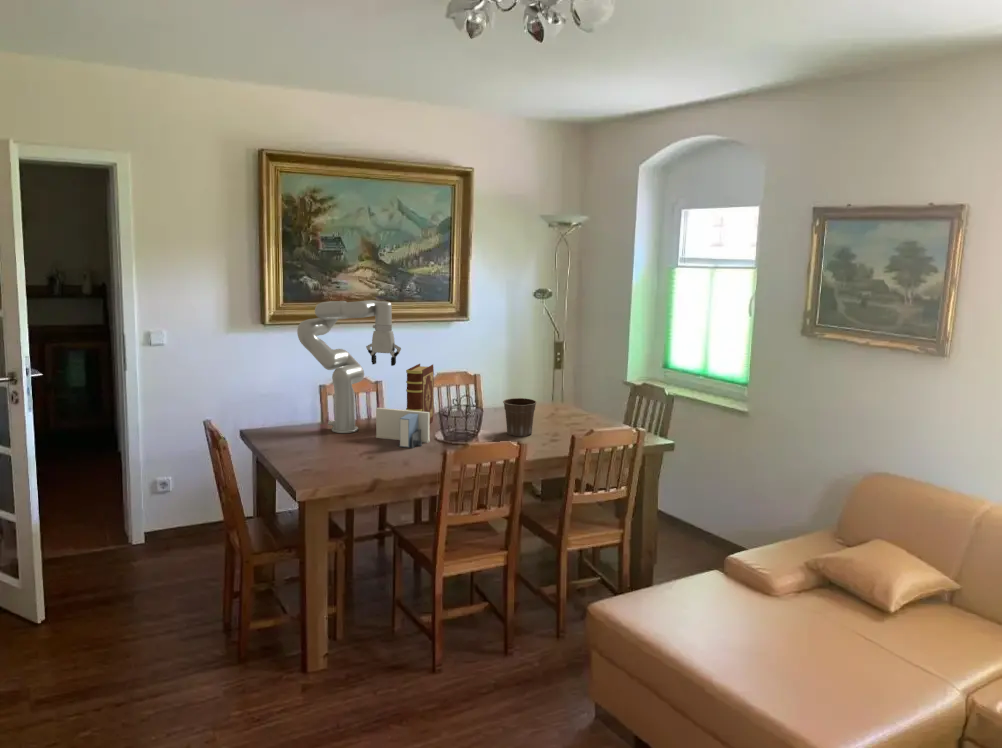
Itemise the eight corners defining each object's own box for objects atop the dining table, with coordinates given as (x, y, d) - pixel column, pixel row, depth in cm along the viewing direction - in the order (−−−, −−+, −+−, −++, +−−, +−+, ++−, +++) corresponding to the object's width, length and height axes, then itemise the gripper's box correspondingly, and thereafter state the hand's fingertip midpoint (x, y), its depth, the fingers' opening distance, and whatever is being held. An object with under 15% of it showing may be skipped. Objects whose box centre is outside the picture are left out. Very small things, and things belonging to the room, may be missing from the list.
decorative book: (420, 431, 376) (420, 371, 371) (404, 430, 378) (404, 370, 373) (433, 421, 398) (434, 364, 393) (418, 420, 399) (419, 363, 394)
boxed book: (399, 446, 347) (399, 418, 345) (409, 440, 357) (409, 413, 355) (408, 447, 346) (408, 419, 344) (418, 441, 356) (418, 414, 354)
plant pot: (509, 438, 366) (510, 405, 364) (497, 430, 381) (498, 399, 378) (540, 436, 372) (542, 403, 369) (527, 428, 387) (528, 397, 384)
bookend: (397, 446, 348) (397, 432, 347) (406, 441, 357) (406, 427, 356) (417, 448, 345) (417, 434, 344) (425, 443, 355) (425, 429, 354)
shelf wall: (376, 437, 363) (375, 408, 360) (378, 436, 366) (378, 407, 363) (427, 442, 356) (427, 413, 353) (430, 441, 359) (430, 411, 356)
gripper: (362, 328, 356) (363, 364, 359) (397, 330, 352) (397, 367, 355) (370, 326, 363) (370, 362, 366) (404, 328, 359) (403, 364, 362)
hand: (383, 364), depth 360 cm, fingers open, 9 cm apart
